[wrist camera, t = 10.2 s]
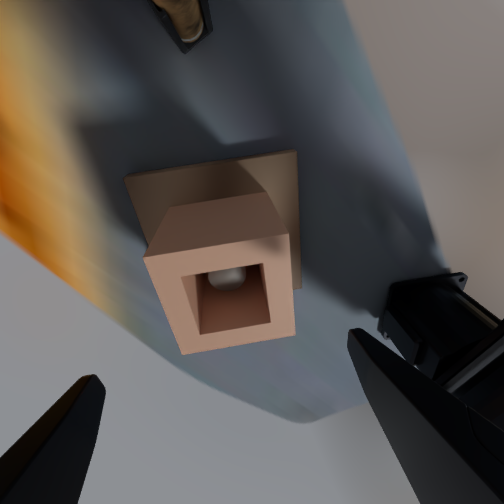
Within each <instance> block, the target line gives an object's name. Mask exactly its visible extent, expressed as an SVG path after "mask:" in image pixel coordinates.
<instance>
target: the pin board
mask: <svg viewBox="0 0 504 504" xmlns="http://www.w3.org/2000/svg"><path fill="white" fill-rule="evenodd" d="M123 180H124V183H125V185H126V188H127V191H128V193H129V196H130V199H131V201H132V204H133V206H134V209H135V212H136V214H137V217H138V220H139V222H140V225H141V228H142V230H143V233H144V236H145V238H146V241H147V243H148V246H149V245H150V243H151V241H152V239H153V237H154V235H155V233H156V231H157V229H158V228H159V226H160V224H161V222H162V220H163V218H164V216H165V214H166V212H167V210H168V208H169V207H173V206H180V205H186V204H192V203H198V202H204V201H211V200H217V199H223V198H229V197H236V196H242V195H248V194H254V193H261V192H267V193H268V195H269V197H270V199H271V201H272V203H273V204H274V206H275V208H276V210H277V212H278V214H279V216H280V218H281V220H282V221H283V223H284V225H285V227H286V229H287V231H288V233H289V242H290V258H291V273H292V289H293V290H295V289H301V288H302V277H301V249H300V221H299V193H298V165H297V151H295V150H294V149H290V150H283V151H277V152H270V153H264V154H257V155H250V156H244V157H237V158H231V159H224V160H218V161H211V162H204V163H198V164H191V165H185V166H178V167H172V168H165V169H158V170H152V171H145V172H139V173H132V174H128V175H126V176H125V177H124V178H123ZM208 278H209V281H210V283H211V285H212V286H213V287H215V288H216V289H218V290H222V291H232V290H235V289H237V288H239V287H240V286H241V285H242V284H243V283H244V281H245V279H246V270H245V266H242V267H236V268H230V269H224V270H218V271H212V272H208Z"/></svg>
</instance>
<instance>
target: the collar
mask: <svg viewBox="0 0 504 504" xmlns="http://www.w3.org/2000/svg"><path fill="white" fill-rule="evenodd" d="M143 260H144V262H145V264H146V267H147V269H148V272H149V274H150V277H151V279H152V282H153V284H154V287H155V289H156V291H157V294H158V296H159V299H160V301H161V304H162V306H163V309H164V311H165V314H166V316H167V318H168V321H169V323H170V326H171V328H172V331H173V333H174V336H175V338H176V341H177V343H178V345H179V348H180V350H181V353H182V355H185V354H191V353H196V352H202V351H208V350H214V349H219V348H225V347H231V346H236V345H242V344H248V343H254V342H259V341H265V340H271V339H277V338H282V337H288V336H294V335H295V320H294V304H293V289H292V273H291V258H290V242H289V233H288V231H287V229H286V227H285V225H284V223H283V221H282V220H281V218H280V216H279V214H278V212H277V210H276V208H275V206H274V204H273V203H272V201H271V199H270V197H269V195H268V193H267V192H261V193H254V194H248V195H242V196H236V197H229V198H223V199H217V200H211V201H204V202H198V203H192V204H186V205H180V206H173V207H169V208H168V210H167V212H166V214H165V216H164V218H163V220H162V222H161V224H160V226H159V228H158V229H157V231H156V233H155V235H154V237H153V239H152V241H151V243H150V245H149V247H148V249H147V250H146V252H145V254H144V256H143ZM242 266H245V270H246V279H245V281H244V283H243V284H242V285H241V286H240V287H239V288H237V289H235V290H232V291H222V290H218V289H216V288H215V287H213V286H212V285H211V283H210V281H209V278H208V272H212V271H218V270H224V269H230V268H236V267H242Z"/></svg>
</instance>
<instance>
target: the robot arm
mask: <svg viewBox="0 0 504 504" xmlns="http://www.w3.org/2000/svg"><path fill="white" fill-rule="evenodd" d="M467 279H468V277H467V275H465V274H464V273H462V272H458V273H452V274H446V275H440V276H434V277H428V278H422V279H416V280H410V281H404V282H398V283H394V284H393V285H391V287H390V290H389V295H388V300H387V306H386V309H385V315H384V320H383V326H382V333H381V334H382V336H383V338H384V339H386V340H388V339H391V340H392V342H393V343H394V345H395V346H396V347H397V349H398V350H399V352H400V353H401V354H402V356H403V357H404V358H405V360H404V359H403V358H402V357H400V356H399V355H398V354H396V353H395V352H393V351H392V350H391V349H389V348H388V347H387V346H385V345H384V344H382V343H381V342H380V341H378V340H377V339H376V338H374V337H373V336H371V335H370V334H369V333H367V332H366V331H365V330H363V329H361V328H355V329H350V330H349V332H348V341H347V348H348V351H349V354H350V357H351V359H352V362H353V364H354V367H355V370H356V372H357V375H358V377H359V380H360V383H361V385H362V388H363V390H364V393H365V395H366V397H367V399H368V401H369V403H370V405H371V407H372V409H373V411H374V413H375V415H376V417H377V419H378V421H379V423H380V425H381V427H382V429H383V431H384V433H385V435H386V437H387V439H388V441H389V443H390V445H391V446H392V449H393V451H394V453H395V454H396V457H397V458H398V460H399V462H400V464H401V466H402V468H403V470H404V472H405V474H406V476H407V478H408V480H409V482H410V484H411V486H412V488H413V490H414V492H415V494H416V496H417V498H418V500H419V502H420V504H504V319H503V320H500V319H499V318H497V317H496V316H495V315H493V314H492V313H491V312H490V311H488V310H487V309H486V308H484V307H483V306H482V305H480V304H479V303H478V302H477V301H475V300H474V299H473V298H471V297H470V296H469V295H467V294H466V293H465V292H463V290H464V287H465V284H466V281H467ZM415 365H416V367H417V368H418V369H419V370H418V369H417V368H415V367H414V366H415ZM105 395H106V390H105V387H104V385H103V384H102V382H101V381H100V379H99V378H98V377H97V375H95V374H92V375H86V376H82V377H81V378H80V379H78V380H77V381H76V382H75V383H74V384H73V386H71V387H70V389H68V390H67V392H66V393H64V395H62V396H61V398H60V399H58V400H57V401H56V402H55V404H54V405H52V406H51V407H50V408H49V410H47V411H46V412H45V413H44V414H43V415H42V416H41V417H40V418H39V419H38V420H37V421H36V422H35V424H34V425H32V426H31V427H30V428H29V429H28V430H27V431H26V432H25V433H24V434H23V435H22V436H21V437H20V438H19V439H18V440H17V441H16V442H15V443H14V444H13V445H12V446H11V447H10V448H9V449H8V450H7V451H6V452H5V453H4V454H3V455H2V456H1V457H0V504H78V500H79V497H80V494H81V491H82V487H83V484H84V481H85V477H86V474H87V470H88V467H89V464H90V461H91V457H92V454H93V451H94V447H95V443H96V439H97V435H98V430H99V425H100V420H101V415H102V410H103V405H104V400H105Z"/></svg>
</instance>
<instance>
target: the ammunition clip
mask: <svg viewBox="0 0 504 504" xmlns="http://www.w3.org/2000/svg"><path fill="white" fill-rule="evenodd" d="M147 1H148V3H149V4H150V6H151V7H152V9H153V11H154V12H155V14H156V15H157V17H158V18H159V20H160V21H161V23H162V24H163V26H164V27H165V28H166V30H167V31H168V33H169V34H170V36H171V37H172V38H173V40H174V41H175V43H176V44H177V46H178V47H179V48H180V50H181V51H182V53H184V54H186V53H187V52H188V51H189V50H191V49H192V48H193V47H194V46H195V45H196V44H198V43H199V42H200V41H201V40H202V39H204V38H205V37H206V36H207V35H208V34H210V33H211V32H212V31H213V27H212V21H211V16H210V10H209V4H208V0H147Z"/></svg>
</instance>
